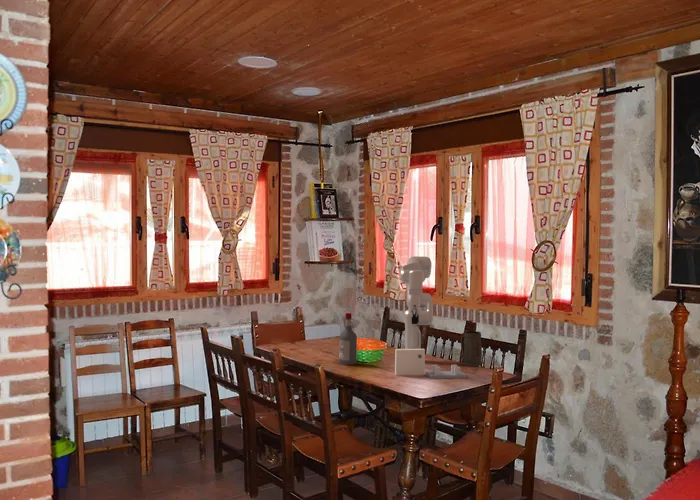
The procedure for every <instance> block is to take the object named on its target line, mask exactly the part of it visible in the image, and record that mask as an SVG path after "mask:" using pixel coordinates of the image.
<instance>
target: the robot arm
mask: <svg viewBox="0 0 700 500" xmlns="http://www.w3.org/2000/svg"><path fill="white" fill-rule="evenodd" d="M399 274H400V275H399V277H400V281H401V282H402V283H404V284H405V287H406V306H407V308H409V309H407V310H405V311H404V313H403V319H404V328H405V329H404V331H405V332H404V349H422V348H421V344H422V343H421V340H422V339H421V338H422V333H421V330H420V329H419V327H418V326H431V325H432V323H433V320H434V319H433V317H434V315H433V313H434V312H433V296H432V295H431V294H430V293H427V292H423V286H424V285H423V283H424V282H425V281H426V279H428V278H430V276H431V275H432V260H431V258H430V257H428V256H416V255H415V256H411V257H409V258H408V259H407V264H405V265H403V266H401V268H400V273H399Z"/></svg>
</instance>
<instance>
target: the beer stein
mask: <svg viewBox="0 0 700 500" xmlns="http://www.w3.org/2000/svg"><path fill="white" fill-rule="evenodd" d="M460 347H461V352H462V353H461V358H463V364H462V365H464V366H467V367H480V366H482V358H483V357H482V355H483V354H482V348H483V347H482V333H481V332H480V331H474V330H467V331H465V332H463V333H461V338H460Z"/></svg>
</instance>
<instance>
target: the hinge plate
mask: <svg viewBox="0 0 700 500" xmlns="http://www.w3.org/2000/svg"><path fill="white" fill-rule="evenodd" d="M450 367H451V369H450V370H449V371H447V370H446V371H445V370H441V367H440V366H438V364H432V365H431V371H425V375H426V376H427V377H428V378H429V379H466V378H467V374H465V373H464V372H463V371H461V367H460V366H458V364H451V366H450Z"/></svg>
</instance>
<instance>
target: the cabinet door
mask: <svg viewBox="0 0 700 500" xmlns="http://www.w3.org/2000/svg"><path fill="white" fill-rule="evenodd" d="M394 351H395V352H394V375H395V376H399V377H400V376H425V375H426V370H425V368H426V366H425V364H426V356H425V355H426V349H425V348H420V349H405V348H395V350H394Z"/></svg>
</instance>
